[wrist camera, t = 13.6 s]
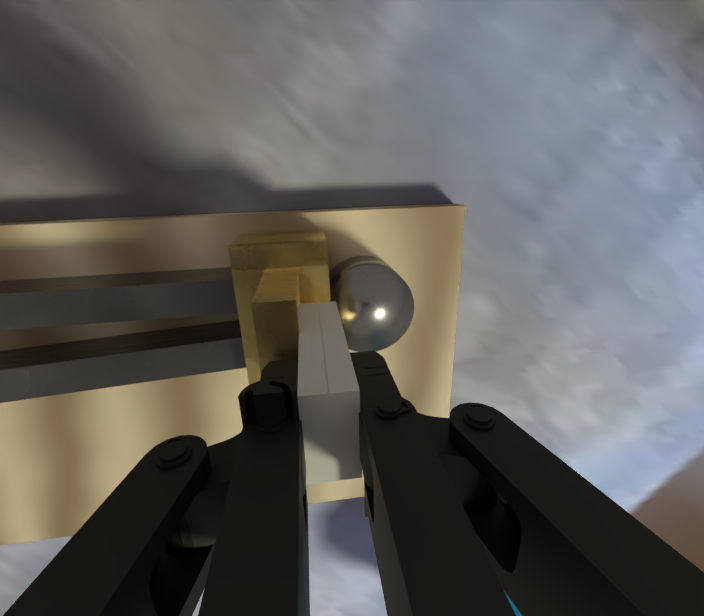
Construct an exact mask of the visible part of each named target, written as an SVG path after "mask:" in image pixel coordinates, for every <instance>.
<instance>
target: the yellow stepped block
mask: <svg viewBox="0 0 704 616" xmlns="http://www.w3.org/2000/svg"><path fill="white" fill-rule="evenodd" d="M228 251H229V258H230V265H231V271H232V278H233V284H234V291H235V297H236V304H237V310H238V317H239V323H240V330H241V336H242V343H243V349H244V356H245V362H246V369H247V375H248V382H249V385H250V384H252V383H255V382H257V381H260V378H261V373H262V369H263V368H264V367H265V366H266V365H267V364H268V363H269V362H270V361H276V360H287V359H298V350H299V324H300V304H305V303H319V302H331V301H330V283H329V264H328V246H327V239H326V237H325V234H324V232H323V231H310V232H290V233H269V234H249V235H240V236H239V237H238V238H237V239H235V240H234V241H233V242H232V243H231V244H230V245H229V246H228Z"/></svg>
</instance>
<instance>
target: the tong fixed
mask: <svg viewBox="0 0 704 616" xmlns="http://www.w3.org/2000/svg"><path fill="white" fill-rule="evenodd" d="M329 283H330V301H331V302H333V301H336V304H337V307H338V311H339V315H340V318H341V322H342V326H343V330H344V333H345V337H346V341H347V345H348V348H349V349H350V350H353V351H357V352H365V351H380V350H383V349H385V348H387V347H389V346H391V345H393V344H394V343H396V342H397V341H398V340H399V339H400V338H401V337H402V336H403V335H404V334H405V332H406V331H407V330H408V328H409V326H410V324H411V321H412V319H413V314H414V299H413V295H412V292H411V290H410V288H409V286H408V285H407V283H406V282H405V281H404V280H403V279H402V278H401V277H400V276H399V275H398V274H397V272H396V271H395V270H394V269H393V268H392V267H391V266H389V265H388V264H387V263H386V262H384V261H382V260H380V259H378V258H375V257H371V256H355V257H351V258H348V259H346V260H344V261H342V262H340V263H339V264H338V265H336V266H335V267H334V268H333V269H332V270H331V271H330V273H329ZM234 313H238V310H237V304H236V297H235V291H234V284H233V278H232V271H231V267H226V268H209V269H191V270H174V271H157V272H140V273H123V274H106V275H89V276H72V277H55V278H38V279H21V280H4V281H0V331H1V330H15V329H28V328H42V327H56V326H69V325H83V324H97V323H111V322H124V321H138V320H152V319H165V318H179V317H193V316H206V315H220V314H234Z"/></svg>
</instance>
